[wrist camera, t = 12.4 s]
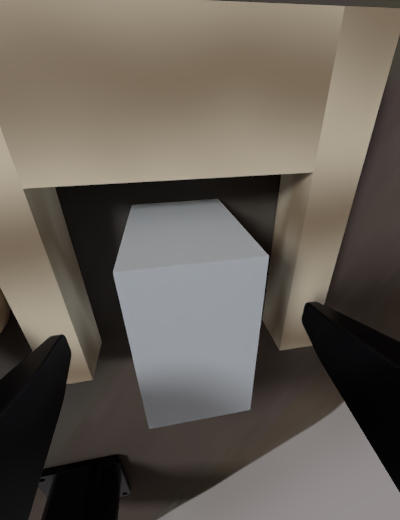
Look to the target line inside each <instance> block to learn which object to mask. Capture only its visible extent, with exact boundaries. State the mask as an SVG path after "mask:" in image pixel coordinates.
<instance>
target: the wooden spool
mask: <svg viewBox="0 0 400 520" xmlns="http://www.w3.org/2000/svg"><path fill="white" fill-rule="evenodd" d="M10 313H11V308H10V305H9V303H8V301H7V299H6V298H5V296H4V294H3V292H2V290H1V288H0V333H1V332H2V330H3V329H4V328H5V326H6V325H7V323H8V321H9V318H10Z"/></svg>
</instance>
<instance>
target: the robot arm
mask: <svg viewBox="0 0 400 520" xmlns="http://www.w3.org/2000/svg"><path fill="white" fill-rule="evenodd" d="M302 324H303V326H304V328H305V331H306V333H307V335H308V337H309V339H310V341H311V343H312V345H313V347H314V349H315V352H316V354H317V356H318V358H319V359H320V361H321V363H322V365H323V366H324V368H325V370H326V371H327V373H328V375H329V376H330V378H331V380H332V381H333V383H334V385H335V386H336V388H337V389H338V391H339V393H340V394H341V396H342V398H343V399H344V401H345V403H346V404H347V406H348V408H349V409H350V411H351V412H352V414H353V416H354V418H355V419H356V421H357V422H358V424H359V426H360V428H361V429H362V431H363V432H364V434H365V436H366V437H367V439H368V441H369V442H370V444H371V446H372V447H373V449H374V451H375V452H376V454H377V456H378V457H379V459H380V461H381V462H382V464H383V465H384V467H385V469H386V470H387V472H388V473H389V475H390V477H391V479H392V480H393V482H394V484H395V485H396V487H397V489H398V490H399V492H400V342H399V341H396V340H394V339H392V338H390V337H388V336H386V335H384V334H382V333H380V332H378V331H376V330H374V329H372V328H370V327H368V326H366V325H364V324H362V323H360V322H358V321H356V320H354V319H352V318H350V317H347V316H345V315H343V314H341V313H339V312H337V311H335V310H333V309H331V308H329V307H327V306H325V305H323V304H321V303H319V302H316V301H314V302H307V303H306V304H305V306H304V310H303V314H302ZM70 362H71V349H70V347H69V344H68V342H67V339H66V337H65V335H63V334H60V335H53V336H50V337H49V338H48V339H46V340H45V341H44V342H43V343H42V344H41V345H40V346H38V347H37V348H36V349H35V350H34V351H33V352H31V353H30V354H29V355H28V356H27V357H26V358H25V359H23V360H22V361H21V362H20V363H19V364H18V365H17V366H15V367H14V368H13V369H12V370H11V371H10V372H9V373H7V374H6V375H5V376H4V377H3V378H2V379H1V380H0V520H28V518H29V515H30V512H31V508H32V505H33V501H34V498H35V495H36V491H37V488H38V486H39V487H40V489H41V490H42V491H43V493H44V494H45V495H46V496H47V501H46V505H45V508H44V512H43V515H42V519H41V520H118V510H119V500H120V497H123V496H127V495H129V494H130V489H131V487H130V484H129V481H128V479H127V476H126V473H125V471H124V468H123V465H122V463H121V460H120V458H118V457H111V458H106V459H101V460H96V461H91V462H86V463H81V464H76V465H71V466H66V467H61V468H56V469H51V470H45V471H43V468H44V465H45V461H46V458H47V454H48V451H49V448H50V444H51V441H52V438H53V434H54V431H55V428H56V424H57V421H58V417H59V414H60V411H61V407H62V404H63V400H64V395H65V389H66V384H67V378H68V373H69V367H70Z"/></svg>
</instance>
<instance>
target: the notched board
mask: <svg viewBox="0 0 400 520" xmlns="http://www.w3.org/2000/svg"><path fill="white" fill-rule="evenodd" d="M399 34H400V8H377V7H353V6H329V5H305V4H281V3H257V2H233V1H209V0H0V288H1V290H2V292H3V294H4V296H5V298H6V299H7V301H8V303H9V305H10V307H11V309H12V311H13V313H14V315H15V317H16V319H17V321H18V323H19V325H20V327H21V329H22V331H23V333H24V335H25V337H26V339H27V341H28V343H29V345H30V347H31V349H32V351H34V350H35V349H36V348H37V347H38V346H40V345H41V344H42V343H43V342H44V341H45V340H46V339H48V338H49V337H50V336H53V335H60V334H63V335H65V337H66V339H67V342H68V344H69V347H70V349H71V362H70V367H69V373H68V378H67V384H70V383H76V382H82V381H89V380H93V377H94V373H95V369H96V364H97V360H98V356H99V352H100V348H101V344H102V341H101V338H100V334H99V331H98V328H97V324H96V321H95V318H94V314H93V311H92V308H91V305H90V301H89V298H88V295H87V291H86V288H85V285H84V281H83V278H82V275H81V272H80V268H79V265H78V262H77V258H76V255H75V252H74V248H73V245H72V242H71V239H70V235H69V232H68V229H67V225H66V222H65V219H64V215H63V212H62V209H61V205H60V202H59V199H58V196H57V192H56V189H55V187H62V186H80V185H98V184H116V183H134V182H151V181H169V180H187V179H205V178H223V177H241V176H259V175H277V174H281V181H280V189H279V196H278V204H277V212H276V219H275V227H274V235H273V242H272V250H271V258H270V265H269V273H268V281H267V288H266V296H265V304H264V311H263V319H262V320H263V322H264V324H265V326H266V327H267V329H268V331H269V333H270V335H271V336H272V338H273V340H274V342H275V343H276V345H277V347H278V349H279V351H281V350H287V349H293V348H300V347H306V346H313V345H312V343H311V341H310V339H309V337H308V335H307V333H306V331H305V328H304V326H303V324H302V314H303V310H304V306H305V304H306V303H307V302H314V301H316V302H319V303H321V304H323V305H324V303H325V299H326V296H327V292H328V289H329V285H330V282H331V278H332V274H333V271H334V267H335V264H336V260H337V256H338V253H339V249H340V246H341V242H342V239H343V235H344V231H345V228H346V224H347V221H348V217H349V214H350V210H351V206H352V203H353V199H354V196H355V192H356V188H357V185H358V181H359V178H360V174H361V171H362V167H363V163H364V160H365V156H366V153H367V149H368V145H369V142H370V138H371V135H372V131H373V128H374V124H375V120H376V117H377V113H378V110H379V106H380V102H381V99H382V95H383V92H384V88H385V85H386V81H387V77H388V74H389V70H390V67H391V63H392V60H393V56H394V52H395V49H396V45H397V42H398V38H399Z"/></svg>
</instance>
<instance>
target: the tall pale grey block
mask: <svg viewBox="0 0 400 520" xmlns="http://www.w3.org/2000/svg"><path fill="white" fill-rule="evenodd" d="M268 261H269V255H268V254H267V253H266V252H265V251H264V250H263V249H262V247H261V246H260V245H259V244H258V243H257V242H256V241H255V240H254V238H253V237H252V236H251V235H250V234H249V233H248V232H247V231H246V230H245V228H244V227H243V226H242V225H241V224H240V223H239V222H238V221H237V219H236V218H235V217H234V216H233V215H232V214H231V213H230V212H229V211H228V209H227V208H226V207H225V206H224V205H223V204H222V203H221V202H220V200H219V199H208V200H194V201H180V202H166V203H151V204H137V205H132V206H131V210H130V213H129V217H128V220H127V224H126V227H125V231H124V234H123V238H122V241H121V245H120V248H119V252H118V255H117V259H116V262H115V266H114V270H113V276H114V280H115V284H116V289H117V293H118V297H119V301H120V306H121V310H122V314H123V319H124V323H125V327H126V332H127V336H128V340H129V344H130V349H131V353H132V357H133V362H134V366H135V370H136V375H137V379H138V383H139V387H140V392H141V396H142V400H143V405H144V409H145V413H146V418H147V422H148V426H149V429H152V428H157V427H163V426H168V425H173V424H178V423H184V422H189V421H194V420H199V419H205V418H210V417H215V416H221V415H226V414H231V413H236V412H242V411H247V410H250V406H251V398H252V390H253V382H254V374H255V366H256V358H257V350H258V341H259V333H260V325H261V317H262V309H263V301H264V293H265V285H266V277H267V269H268Z"/></svg>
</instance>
